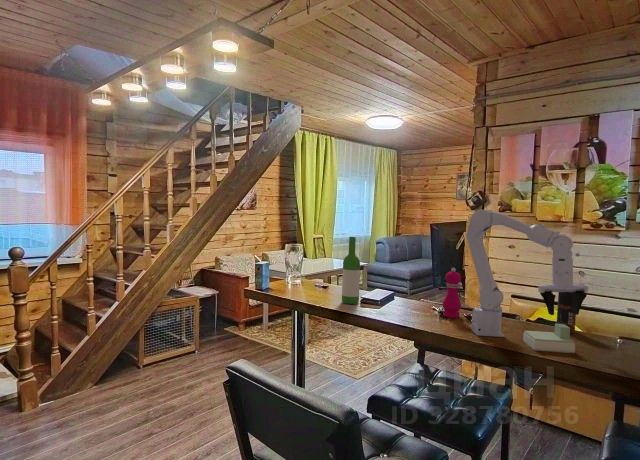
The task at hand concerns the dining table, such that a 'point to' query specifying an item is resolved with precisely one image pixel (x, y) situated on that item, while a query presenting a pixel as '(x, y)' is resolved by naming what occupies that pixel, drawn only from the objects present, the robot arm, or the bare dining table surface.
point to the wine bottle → (351, 275)
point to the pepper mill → (452, 295)
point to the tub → (549, 345)
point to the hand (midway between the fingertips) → (563, 314)
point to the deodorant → (565, 311)
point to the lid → (552, 335)
